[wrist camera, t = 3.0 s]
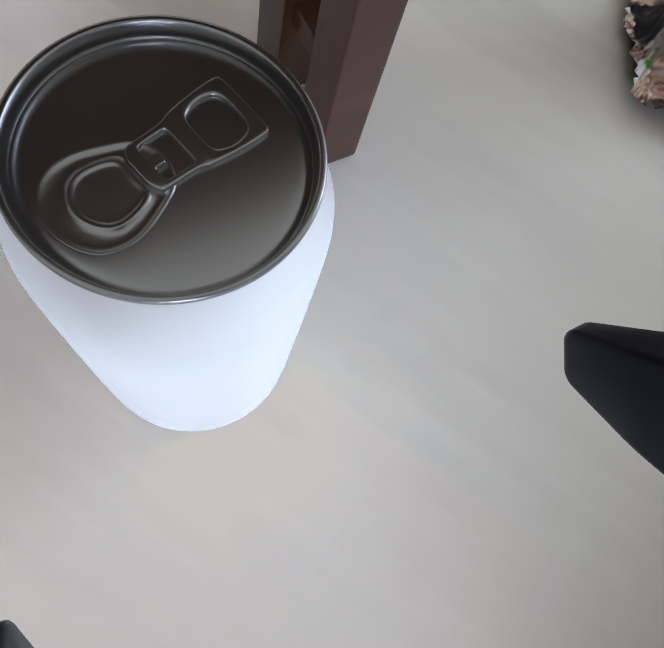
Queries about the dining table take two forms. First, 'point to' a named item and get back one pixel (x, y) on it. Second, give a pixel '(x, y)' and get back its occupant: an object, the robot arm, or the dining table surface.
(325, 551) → the dining table surface
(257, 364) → the can
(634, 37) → the plant with pod
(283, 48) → the desk
